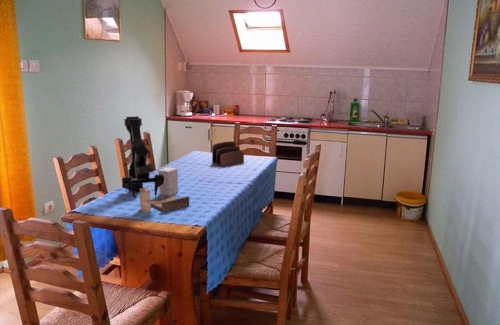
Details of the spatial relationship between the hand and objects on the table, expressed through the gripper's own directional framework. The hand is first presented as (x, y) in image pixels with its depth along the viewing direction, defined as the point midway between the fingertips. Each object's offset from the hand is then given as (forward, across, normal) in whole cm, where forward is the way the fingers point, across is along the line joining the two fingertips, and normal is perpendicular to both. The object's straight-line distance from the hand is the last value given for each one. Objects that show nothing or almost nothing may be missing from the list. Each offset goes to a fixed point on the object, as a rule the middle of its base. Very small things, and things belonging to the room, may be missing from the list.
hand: (145, 197), depth 193 cm
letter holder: (-51, +65, +61) cm, 103 cm away
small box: (-12, +15, +22) cm, 29 cm away
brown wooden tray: (0, +11, +10) cm, 15 cm away
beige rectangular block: (+4, 0, +6) cm, 7 cm away
